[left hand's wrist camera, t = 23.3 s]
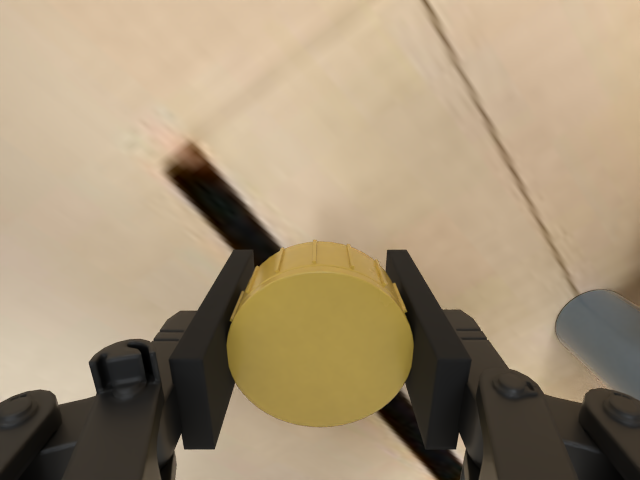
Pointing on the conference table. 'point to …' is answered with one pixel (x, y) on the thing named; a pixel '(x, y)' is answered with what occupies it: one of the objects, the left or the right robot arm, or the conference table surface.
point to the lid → (320, 336)
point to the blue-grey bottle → (604, 338)
